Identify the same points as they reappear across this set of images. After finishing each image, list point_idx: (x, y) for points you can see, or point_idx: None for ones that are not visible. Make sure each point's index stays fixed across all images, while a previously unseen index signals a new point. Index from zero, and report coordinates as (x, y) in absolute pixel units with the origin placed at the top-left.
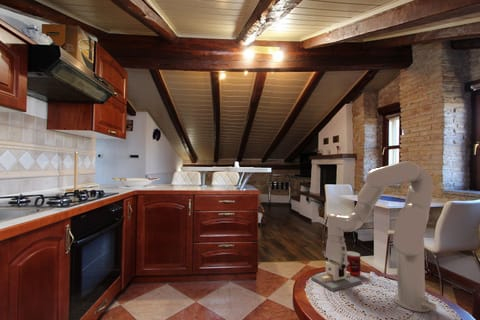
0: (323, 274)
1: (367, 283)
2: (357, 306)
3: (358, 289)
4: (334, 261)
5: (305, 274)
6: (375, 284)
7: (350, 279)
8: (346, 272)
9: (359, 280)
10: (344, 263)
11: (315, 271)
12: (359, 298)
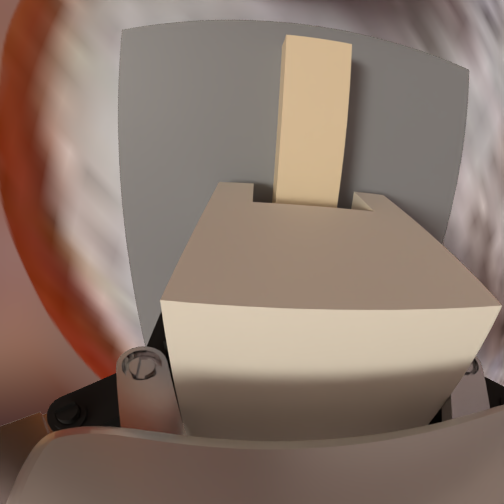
0: (153, 309)
1: (468, 31)
2: (493, 372)
3: (481, 219)
4: (242, 422)
5: (81, 355)
6: (496, 8)
7: (405, 151)
8: (325, 88)
9: (464, 92)
10: (472, 332)
11: (38, 251)
12: (500, 318)
